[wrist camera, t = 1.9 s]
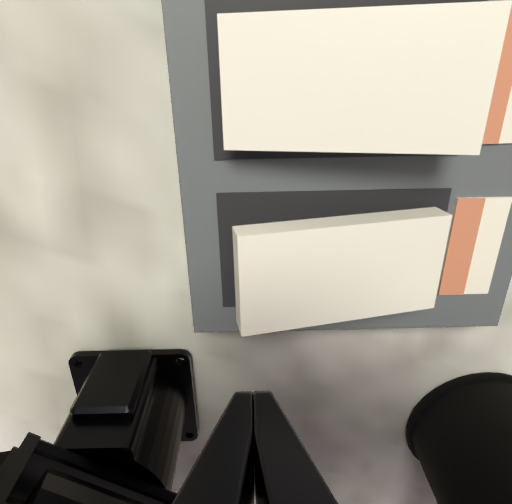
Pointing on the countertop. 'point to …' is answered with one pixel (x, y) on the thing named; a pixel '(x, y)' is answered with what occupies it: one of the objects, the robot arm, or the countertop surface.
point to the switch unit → (331, 182)
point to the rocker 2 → (337, 268)
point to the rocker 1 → (361, 78)
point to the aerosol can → (466, 439)
